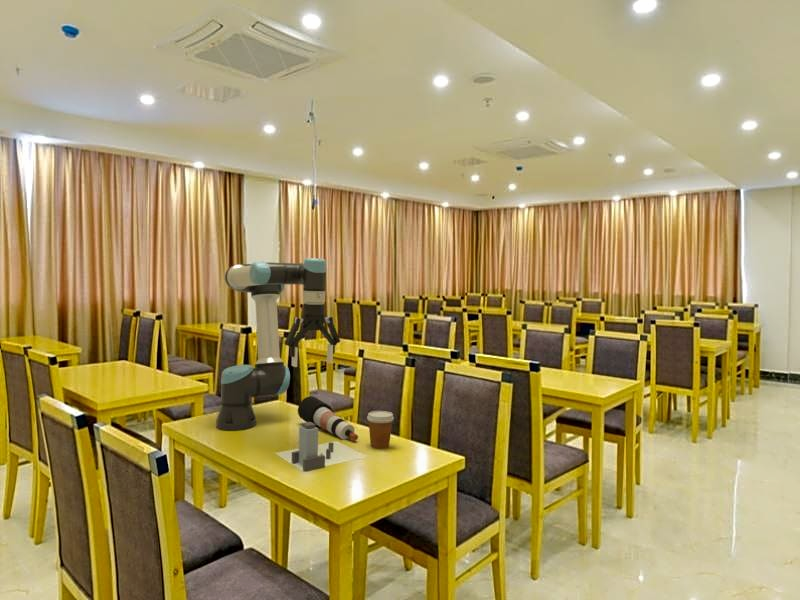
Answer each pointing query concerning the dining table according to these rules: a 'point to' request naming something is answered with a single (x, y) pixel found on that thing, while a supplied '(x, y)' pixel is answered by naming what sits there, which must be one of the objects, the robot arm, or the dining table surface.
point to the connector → (308, 441)
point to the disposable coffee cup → (380, 428)
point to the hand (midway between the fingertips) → (312, 364)
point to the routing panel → (322, 456)
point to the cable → (325, 418)
